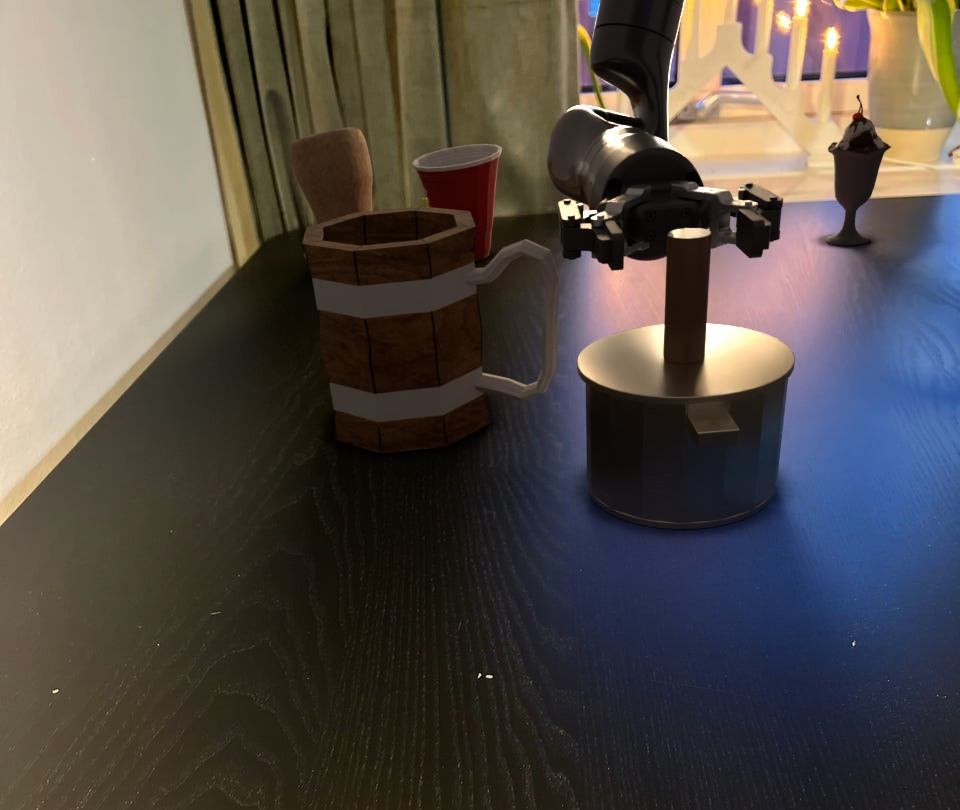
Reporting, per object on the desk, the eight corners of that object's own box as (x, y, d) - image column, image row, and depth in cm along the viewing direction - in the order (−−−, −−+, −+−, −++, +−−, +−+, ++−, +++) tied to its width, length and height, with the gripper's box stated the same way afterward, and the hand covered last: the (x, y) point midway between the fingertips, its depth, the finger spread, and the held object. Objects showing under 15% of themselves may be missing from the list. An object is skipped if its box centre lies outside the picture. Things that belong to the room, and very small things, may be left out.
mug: (302, 448, 78) (264, 251, 69) (367, 385, 88) (342, 207, 79) (542, 464, 72) (533, 251, 63) (582, 395, 82) (579, 204, 74)
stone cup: (330, 243, 134) (310, 120, 126) (411, 242, 131) (397, 116, 122) (281, 274, 123) (256, 141, 114) (369, 274, 119) (350, 137, 111)
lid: (759, 331, 69) (771, 199, 64) (823, 403, 57) (843, 251, 53) (566, 348, 69) (562, 218, 64) (592, 424, 58) (590, 273, 53)
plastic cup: (408, 257, 125) (396, 153, 118) (483, 241, 128) (476, 140, 122) (445, 274, 117) (434, 164, 110) (524, 257, 120) (518, 149, 113)
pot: (737, 426, 75) (746, 314, 70) (813, 541, 60) (831, 409, 55) (573, 440, 75) (571, 329, 70) (608, 558, 60) (608, 429, 55)
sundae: (838, 230, 119) (855, 90, 111) (888, 238, 115) (910, 93, 106) (805, 242, 116) (820, 99, 108) (855, 250, 112) (876, 101, 103)
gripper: (543, 147, 71) (570, 191, 57) (740, 129, 71) (813, 169, 57) (547, 255, 75) (573, 319, 62) (732, 238, 75) (798, 299, 62)
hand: (688, 247), depth 60 cm, fingers open, 8 cm apart
